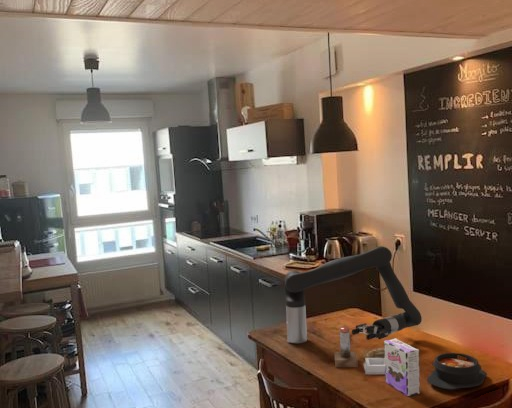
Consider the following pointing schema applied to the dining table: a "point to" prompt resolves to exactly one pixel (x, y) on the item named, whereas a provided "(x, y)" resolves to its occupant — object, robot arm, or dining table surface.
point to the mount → (346, 360)
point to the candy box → (402, 366)
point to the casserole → (456, 371)
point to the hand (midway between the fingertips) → (359, 334)
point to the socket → (374, 365)
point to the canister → (345, 341)
